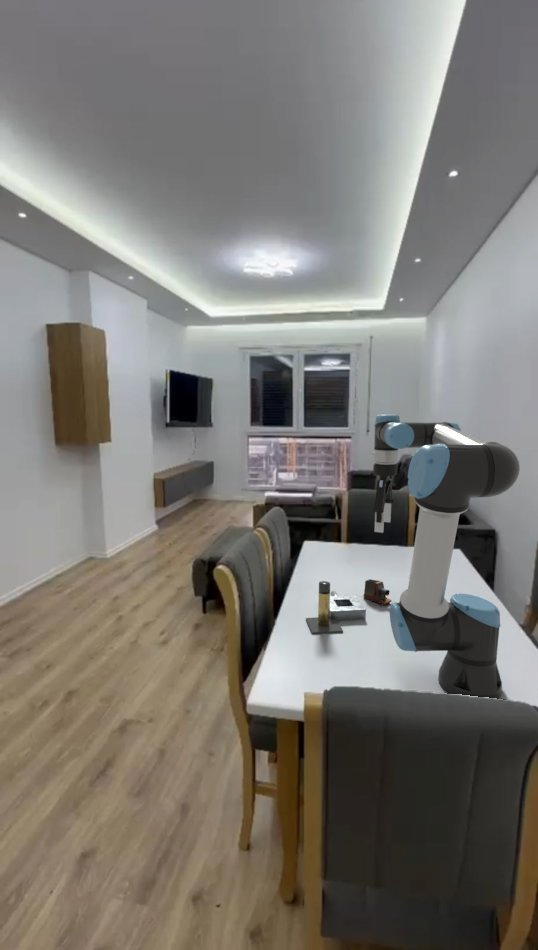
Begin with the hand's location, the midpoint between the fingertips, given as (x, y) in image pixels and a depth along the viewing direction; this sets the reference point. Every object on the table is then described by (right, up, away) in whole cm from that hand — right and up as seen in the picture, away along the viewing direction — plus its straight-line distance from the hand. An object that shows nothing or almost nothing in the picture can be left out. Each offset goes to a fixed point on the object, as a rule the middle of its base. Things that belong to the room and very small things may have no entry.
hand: (382, 526), depth 156 cm
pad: (-19, -32, -1) cm, 38 cm away
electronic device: (+2, -30, +18) cm, 35 cm away
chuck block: (-12, -30, +13) cm, 35 cm away
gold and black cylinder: (-20, -32, -1) cm, 37 cm away
